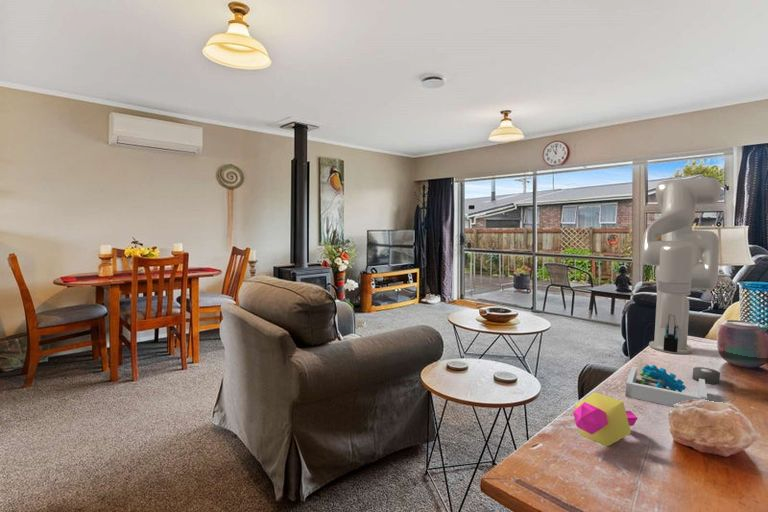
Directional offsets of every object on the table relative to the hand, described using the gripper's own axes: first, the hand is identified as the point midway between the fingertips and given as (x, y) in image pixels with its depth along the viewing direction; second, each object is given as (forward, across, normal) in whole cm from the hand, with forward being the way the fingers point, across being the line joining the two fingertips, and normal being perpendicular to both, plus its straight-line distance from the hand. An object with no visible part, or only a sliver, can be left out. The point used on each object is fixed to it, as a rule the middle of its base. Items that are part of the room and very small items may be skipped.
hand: (670, 350), depth 116 cm
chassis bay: (+8, +14, 0) cm, 16 cm away
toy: (+6, +49, -10) cm, 50 cm away
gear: (+8, +12, -2) cm, 15 cm away
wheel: (+8, -4, +9) cm, 13 cm away
